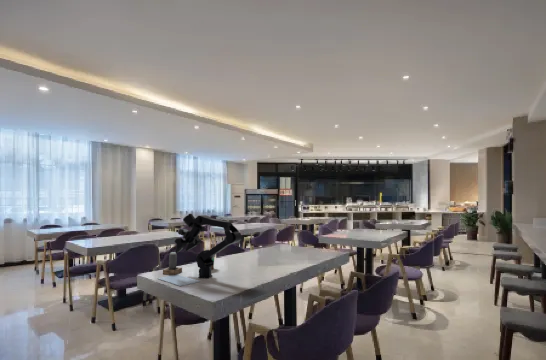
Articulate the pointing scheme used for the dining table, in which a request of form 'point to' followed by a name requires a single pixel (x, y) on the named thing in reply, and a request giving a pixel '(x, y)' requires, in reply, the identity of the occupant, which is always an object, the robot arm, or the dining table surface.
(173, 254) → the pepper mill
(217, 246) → the robot arm
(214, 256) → the food container
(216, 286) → the dining table surface
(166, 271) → the walnut holder
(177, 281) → the placemat
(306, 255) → the dining table surface
